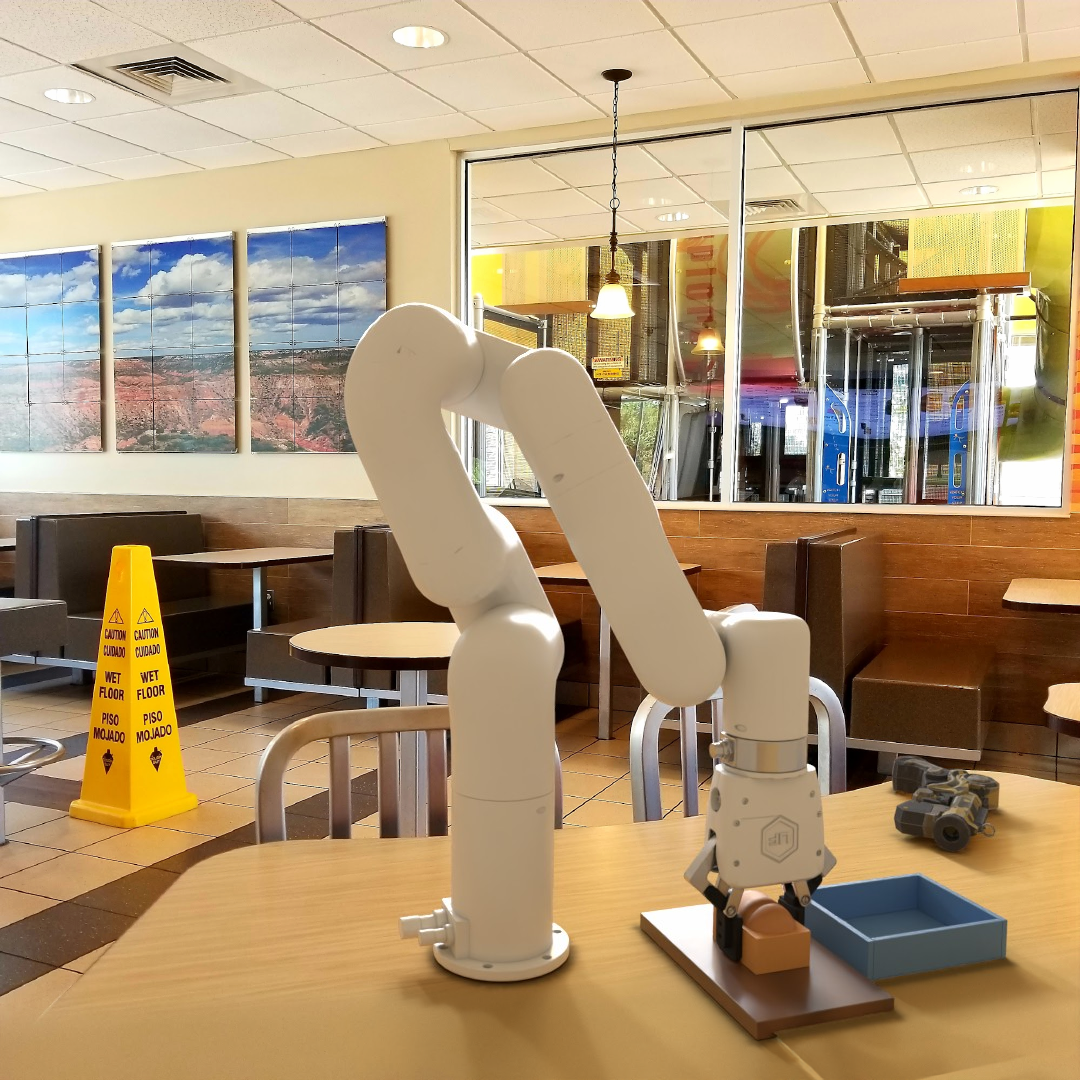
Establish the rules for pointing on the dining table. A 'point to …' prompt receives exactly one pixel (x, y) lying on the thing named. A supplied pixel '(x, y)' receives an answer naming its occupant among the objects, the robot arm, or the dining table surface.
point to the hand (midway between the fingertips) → (760, 947)
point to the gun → (943, 802)
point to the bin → (903, 926)
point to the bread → (770, 935)
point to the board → (764, 978)
